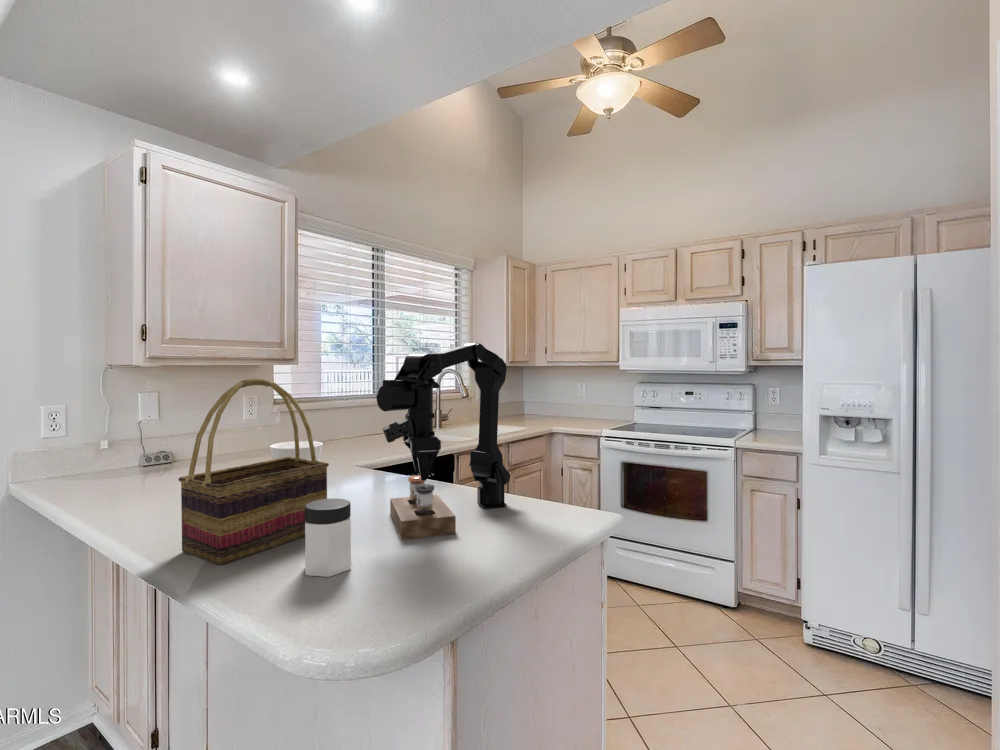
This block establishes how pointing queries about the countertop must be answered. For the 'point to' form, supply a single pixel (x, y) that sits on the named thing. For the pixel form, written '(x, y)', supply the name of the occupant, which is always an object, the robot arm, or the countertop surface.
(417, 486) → the grey plug
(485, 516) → the countertop surface
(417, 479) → the copper capped plug
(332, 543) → the jar
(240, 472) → the basket
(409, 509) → the socket block
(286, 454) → the cup
